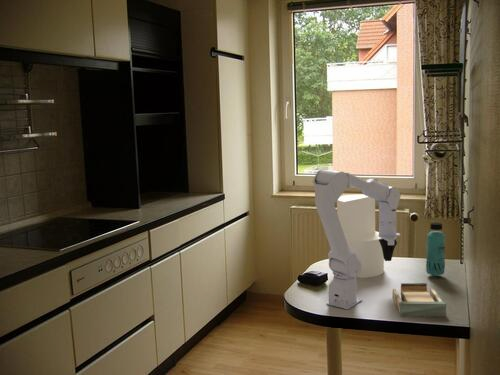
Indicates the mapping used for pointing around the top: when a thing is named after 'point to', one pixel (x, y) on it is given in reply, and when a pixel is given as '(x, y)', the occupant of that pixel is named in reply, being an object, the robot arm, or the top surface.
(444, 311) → the pale green tray
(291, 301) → the top surface
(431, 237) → the beverage bottle
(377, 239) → the white tall stepped piece
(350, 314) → the top surface
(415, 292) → the small wooden block
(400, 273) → the top surface
